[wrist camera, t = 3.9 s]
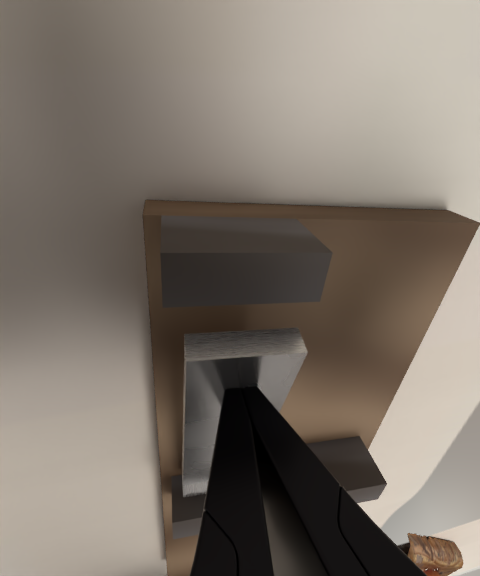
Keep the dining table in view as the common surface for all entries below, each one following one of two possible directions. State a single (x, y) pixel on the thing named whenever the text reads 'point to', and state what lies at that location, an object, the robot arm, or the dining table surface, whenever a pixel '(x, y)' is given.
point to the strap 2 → (230, 386)
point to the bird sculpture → (434, 555)
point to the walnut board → (296, 320)
